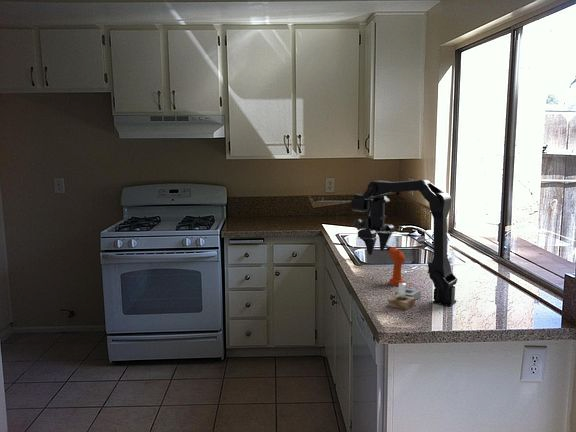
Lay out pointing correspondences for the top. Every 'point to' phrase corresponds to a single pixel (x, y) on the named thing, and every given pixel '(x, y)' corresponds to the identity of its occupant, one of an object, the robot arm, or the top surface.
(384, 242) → the robot arm
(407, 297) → the socket block
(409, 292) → the gray square ring
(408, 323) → the top surface
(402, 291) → the silver metal rod
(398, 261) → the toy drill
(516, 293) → the top surface
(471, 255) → the top surface
